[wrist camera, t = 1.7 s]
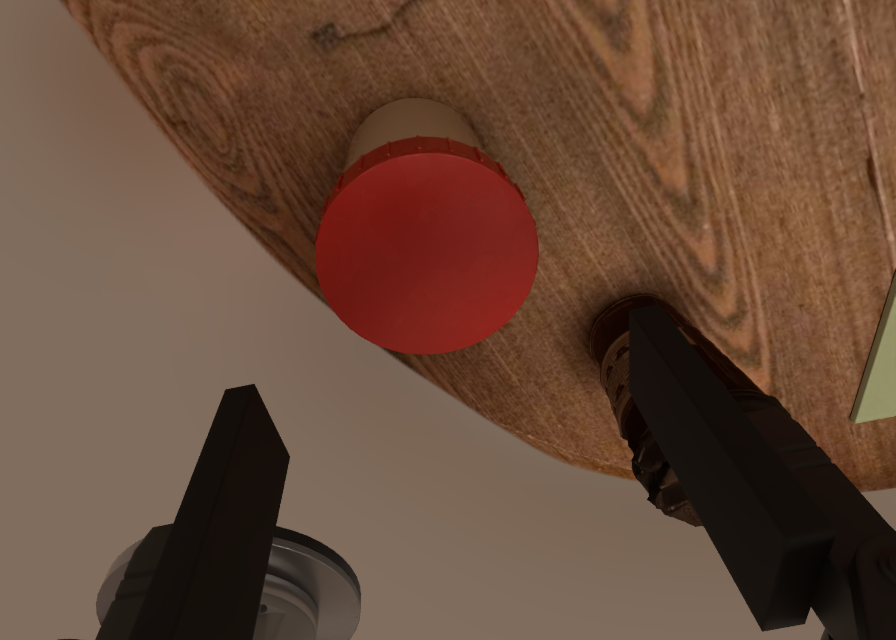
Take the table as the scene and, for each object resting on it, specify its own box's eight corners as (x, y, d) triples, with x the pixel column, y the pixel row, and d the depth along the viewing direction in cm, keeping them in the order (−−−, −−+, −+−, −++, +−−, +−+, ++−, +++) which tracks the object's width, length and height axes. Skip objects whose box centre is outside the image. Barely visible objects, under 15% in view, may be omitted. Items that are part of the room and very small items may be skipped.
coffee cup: (547, 364, 38) (609, 521, 28) (606, 263, 34) (706, 399, 24) (650, 392, 41) (745, 547, 30) (717, 300, 37) (855, 440, 26)
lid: (352, 343, 25) (349, 373, 23) (290, 160, 20) (280, 179, 18) (536, 306, 25) (548, 333, 23) (516, 113, 20) (529, 127, 18)
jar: (366, 246, 32) (357, 357, 23) (328, 114, 28) (299, 185, 19) (493, 220, 32) (534, 321, 23) (473, 83, 28) (514, 140, 19)
